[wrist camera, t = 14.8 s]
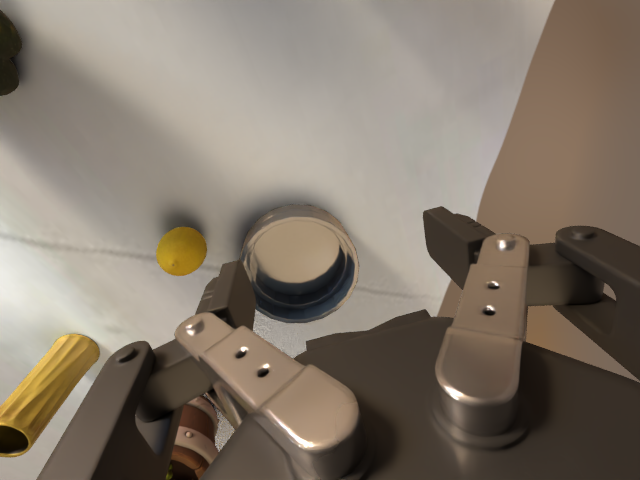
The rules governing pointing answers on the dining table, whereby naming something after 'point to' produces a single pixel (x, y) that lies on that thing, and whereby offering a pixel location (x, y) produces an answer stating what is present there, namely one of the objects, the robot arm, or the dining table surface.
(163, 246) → the lemon
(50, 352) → the vase
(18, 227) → the dining table surface
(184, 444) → the flowerpot
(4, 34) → the squash
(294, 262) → the bowl
